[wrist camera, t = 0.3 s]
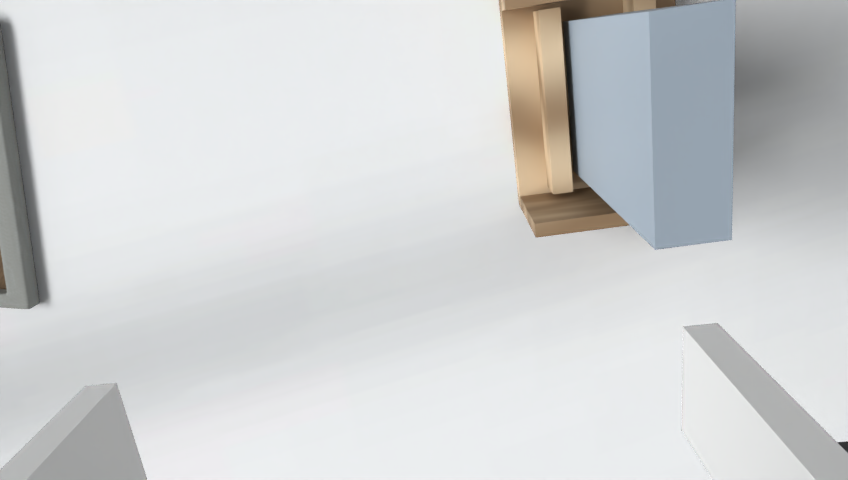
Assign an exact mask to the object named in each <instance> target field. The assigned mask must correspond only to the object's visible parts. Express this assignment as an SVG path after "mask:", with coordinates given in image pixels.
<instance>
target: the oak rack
mask: <svg viewBox="0 0 848 480" xmlns="http://www.w3.org/2000/svg"><path fill="white" fill-rule="evenodd" d="M499 6H500V16H501V26H502V36H503V46H504V56H505V66H506V77H507V87H508V97H509V107H510V117H511V127H512V137H513V147H514V157H515V167H516V178H517V188H518V198H519V205H520V207H521V209H522V211H523V213H524V215H525V217H526V219H527V221H528V223H529V225H530V227H531V229H532V231H533V233H534V235H535V237H543V236H551V235H559V234H566V233H574V232H581V231H589V230H597V229H604V228H612V227H619V226H627V225H629V224H628V223H627V222H626V221H625V220H624V219H623V218H622V217H621V216H620V215H619V214H618V213H617V212H616V211H615V210H614V209H612V208H611V207H610V206H609V205H608V204H607V203H606V202H605V201H604V200H603V199H602V198H601V197H600V196H599V195H598V194H597V193H596V192H595V191H594V190H593V189H592V188H591V187H590V186H589V185H588V184H587V183H585V182H584V181H583V180H582V179H581V178H580V177H579V176H578V175H577V174H576V173H575V172H574V171H573V158H572V143H571V129H570V114H569V100H568V85H567V70H566V56H565V41H564V27H563V22H564V21H571V20H577V19H584V18H590V17H597V16H603V15H610V14H617V13H625V12H633V11H640V10H648V9H656V8H664V7H672V6H675V0H499Z"/></svg>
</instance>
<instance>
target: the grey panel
mask: <svg viewBox="0 0 848 480" xmlns="http://www.w3.org/2000/svg"><path fill="white" fill-rule="evenodd" d="M735 12H736V0H719V1H711V2H703V3H695V4H687V5H680V6H672V7H664V8H656V9H648V10H640V11H633V12H625V13H617V14H610V15H603V16H597V17H590V18H584V19H577V20H571V21H564V22H563V27H564V41H565V56H566V70H567V85H568V100H569V114H570V129H571V143H572V158H573V171H574V172H575V173H576V174H577V175H578V176H579V177H580V178H581V179H582V180H583V181H584V182H585V183H587V184H588V185H589V186H590V187H591V188H592V189H593V190H594V191H595V192H596V193H597V194H598V195H599V196H600V197H601V198H602V199H603V200H604V201H605V202H606V203H607V204H608V205H609V206H610V207H611V208H612V209H614V210H615V211H616V212H617V213H618V214H619V215H620V216H621V217H622V218H623V219H624V220H625V221H626V222H627V223H628V224H629V225H630V226H631V227H632V228H633V229H634V230H635V231H636V232H637V233H638V234H639V235H641V236H642V237H643V238H644V239H645V240H646V241H647V242H648V243H649V244H650V245H651V246H652V247H653V248H654V249H655V250H656V249H664V248H672V247H680V246H687V245H695V244H703V243H711V242H718V241H726V240H732V199H733V137H734V74H735Z"/></svg>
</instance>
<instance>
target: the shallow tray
mask: <svg viewBox="0 0 848 480" xmlns="http://www.w3.org/2000/svg"><path fill="white" fill-rule="evenodd" d="M38 303H39V295H38V287H37V280H36V273H35V266H34V259H33V252H32V244H31V237H30V230H29V223H28V216H27V209H26V202H25V195H24V187H23V180H22V173H21V166H20V159H19V152H18V145H17V137H16V130H15V123H14V116H13V109H12V102H11V95H10V88H9V80H8V73H7V66H6V59H5V52H4V45H3V38H2V31H1V25H0V307H3V308H17V309H30V308H32V307H34V306H35V305H37V304H38Z"/></svg>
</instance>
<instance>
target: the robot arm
mask: <svg viewBox="0 0 848 480" xmlns="http://www.w3.org/2000/svg"><path fill="white" fill-rule="evenodd" d="M681 431H682V433H683V434H684V436H685V437H686V439H687V441H688V442H689V444H690V445H691V447H692V448H693V450H694V452H695V453H696V455H697V456H698V458H699V459H700V461H701V463H702V464H703V466H704V467H705V469H706V471H707V472H708V474H709V475H710V477H711V478H712V480H848V442H836V441H835V440H834V439H833V438H832V437H831V436H830V435H829V434H828V433H827V432H826V431H825V430H824V429H823V428H822V427H821V426H820V425H819V424H818V423H817V422H816V421H815V420H814V419H813V418H812V417H811V416H810V415H809V414H808V413H807V412H806V411H805V410H804V409H803V408H802V407H801V406H800V405H799V404H798V403H797V402H796V401H795V400H794V399H793V398H792V397H791V396H790V395H789V394H788V393H787V392H786V391H785V390H784V389H783V388H782V387H781V386H780V385H779V384H778V383H777V382H776V381H775V380H774V379H773V378H772V377H771V376H770V375H769V374H768V373H767V372H766V371H765V370H764V369H763V368H762V367H761V366H760V365H759V364H758V363H757V362H756V361H755V360H754V359H753V358H752V357H751V356H750V355H749V354H748V353H747V352H746V351H745V350H744V349H743V348H742V347H741V346H740V345H739V344H738V343H737V342H736V341H735V340H734V339H733V338H732V337H731V336H730V335H729V334H728V333H727V332H726V331H725V330H724V329H723V328H722V327H721V326H720V325H719V324H718V323H714V324H704V325H694V326H684V327H683V351H682V426H681ZM0 480H147V477H146V474H145V471H144V468H143V465H142V462H141V458H140V455H139V452H138V449H137V446H136V443H135V439H134V436H133V433H132V430H131V427H130V424H129V421H128V417H127V414H126V411H125V408H124V405H123V402H122V398H121V395H120V392H119V389H118V386H117V383H110V384H100V385H90V386H85V387H84V388H83V389H82V390H81V391H80V392H79V393H78V394H77V395H76V396H75V397H74V398H73V399H72V400H71V401H70V402H68V403H67V404H66V405H65V406H64V407H63V408H62V409H61V410H60V411H59V412H58V413H57V414H56V415H55V416H54V417H53V418H52V419H51V420H50V421H49V422H48V423H47V424H46V425H45V426H44V427H43V428H42V429H41V430H40V431H39V432H38V433H37V434H36V435H35V436H34V437H33V438H32V439H31V440H30V441H29V442H28V443H27V444H26V445H25V446H24V447H23V448H22V449H21V450H20V451H19V452H18V453H17V454H16V455H15V456H14V457H13V458H12V459H11V460H10V461H9V462H8V463H7V464H6V465H5V466H4V467H3V468H2V469H1V470H0Z"/></svg>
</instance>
